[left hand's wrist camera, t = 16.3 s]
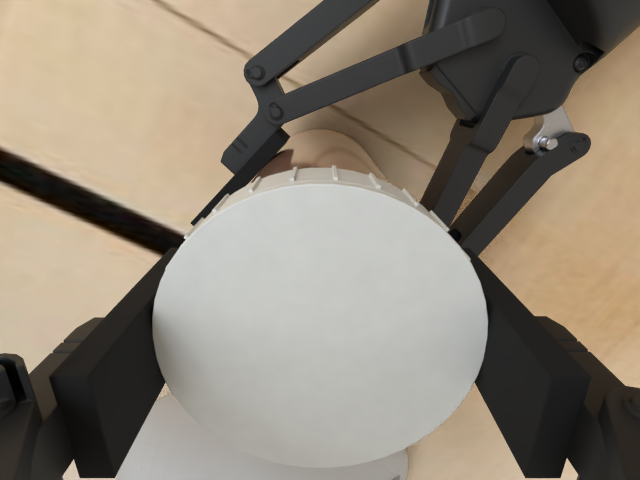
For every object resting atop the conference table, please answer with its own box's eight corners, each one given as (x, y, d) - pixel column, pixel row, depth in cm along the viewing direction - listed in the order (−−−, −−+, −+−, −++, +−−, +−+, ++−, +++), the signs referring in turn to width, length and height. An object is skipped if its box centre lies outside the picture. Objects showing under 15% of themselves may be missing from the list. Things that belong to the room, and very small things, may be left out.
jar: (274, 116, 26) (194, 161, 9) (391, 145, 26) (510, 234, 10) (253, 227, 29) (163, 415, 12) (359, 251, 29) (411, 459, 13)
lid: (120, 318, 12) (83, 360, 11) (304, 91, 10) (300, 91, 8) (330, 455, 15) (331, 511, 13) (523, 296, 12) (562, 335, 10)
